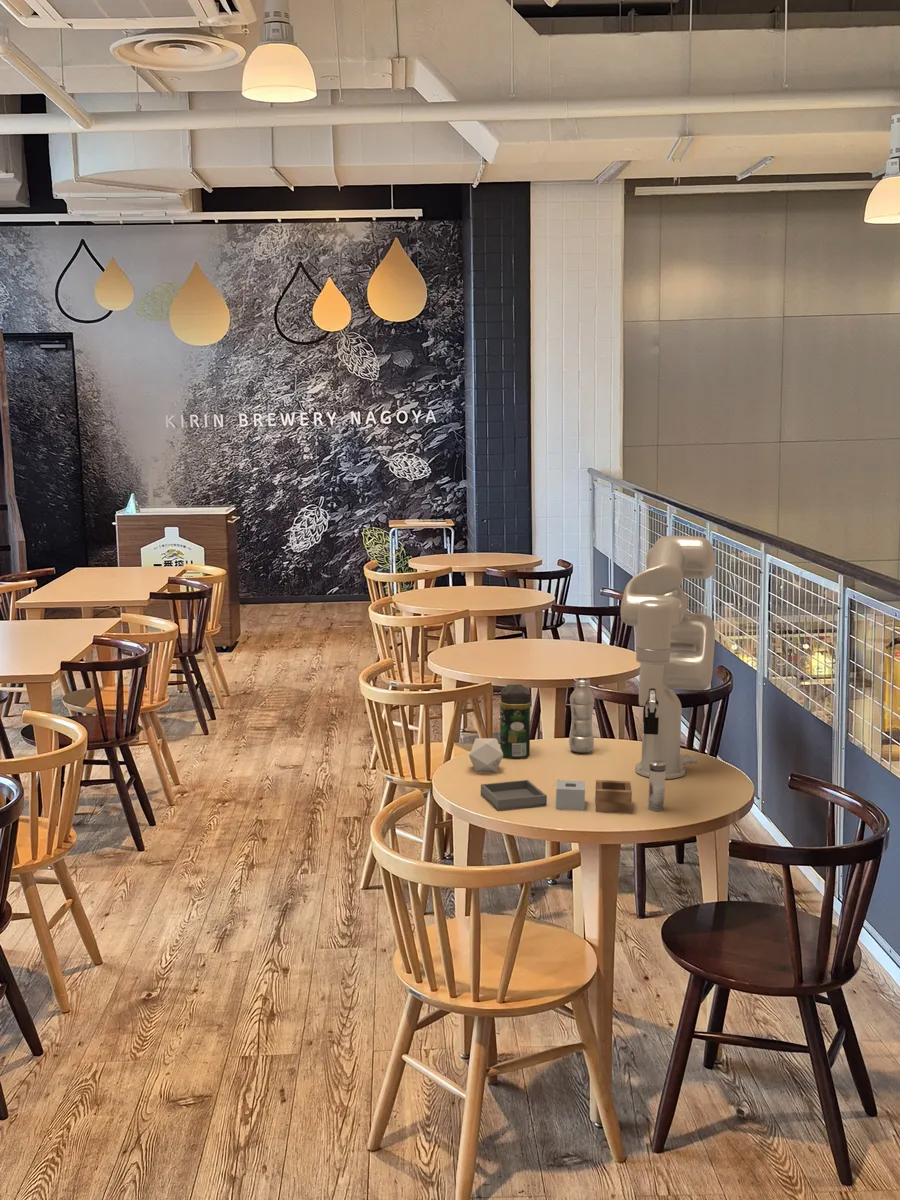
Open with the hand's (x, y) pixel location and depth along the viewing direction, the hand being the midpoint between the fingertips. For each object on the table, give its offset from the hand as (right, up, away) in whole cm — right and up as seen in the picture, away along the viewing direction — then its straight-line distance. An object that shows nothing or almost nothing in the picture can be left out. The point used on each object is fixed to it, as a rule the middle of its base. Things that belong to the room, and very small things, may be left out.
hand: (650, 728), depth 265 cm
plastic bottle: (-10, -12, +47) cm, 49 cm away
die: (-37, -14, +30) cm, 50 cm away
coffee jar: (-29, -12, +44) cm, 54 cm away
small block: (-18, -19, +5) cm, 26 cm away
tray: (-31, -18, +8) cm, 36 cm away
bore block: (-8, -19, +4) cm, 21 cm away
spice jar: (+2, -19, +3) cm, 19 cm away
